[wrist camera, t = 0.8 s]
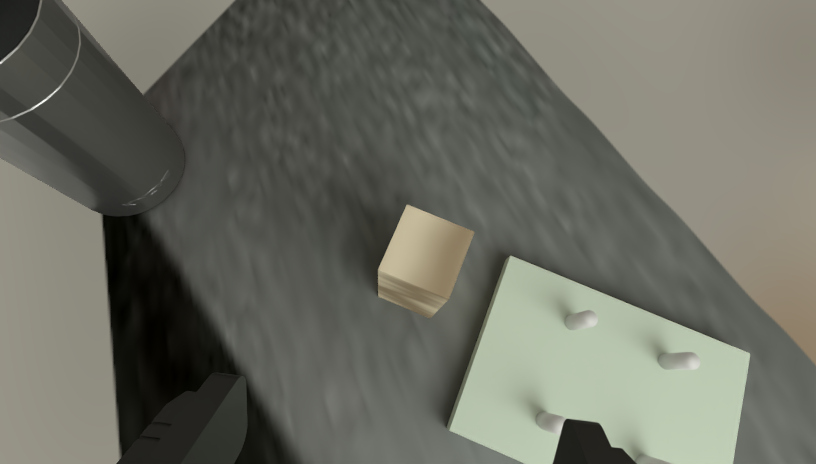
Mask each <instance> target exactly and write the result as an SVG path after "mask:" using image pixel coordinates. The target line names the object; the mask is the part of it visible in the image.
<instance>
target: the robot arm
mask: <svg viewBox="0 0 816 464" xmlns="http://www.w3.org/2000/svg"><path fill="white" fill-rule="evenodd" d="M0 158H1V159H3V160H5V161H6V162H8V163H10V164H12V165H14V166H15V167H17V168H19V169H21V170H22V171H24V172H26V173H28V174H30V175H31V176H33V177H35V178H37V179H38V180H40V181H42V182H44V183H46V184H47V185H49V186H51V187H52V188H54V189H56V190H58V191H59V192H61V193H63V194H65V195H66V196H68V197H70V198H72V199H74V200H75V201H77V202H79V203H81V204H82V205H84V206H86V207H88V208H90V209H91V210H93V211H96V212H98V213H101V214H104V215H110V216H130V215H134V214H139V213H142V212H144V211H146V210H149V209H151V208H153V207H154V206H156V205H158V204H159V203H161V202H162V201H163V200H164V199H165V198H167V197H168V196H169V195H170V194H171V193H172V191H173V190H174V189H175V187H176V186H177V184H178V183H179V180H180V178H181V176H182V174H183V169H184V164H185V155H184V150H183V146H182V143H181V141H180V140H179V138H178V136H177V135H176V134H175V132H174V131H173V130H172V129H171V128H170V127H169V125H168V124H167V123H166V122H165V121H164V120H163V118H162V117H161V116H160V115H159V114H158V112H157V111H156V110H155V109H154V108H153V106H152V105H151V104H150V103H149V102H148V101H147V99H146V98H145V97H144V96H143V95H142V93H141V92H140V91H139V90H138V89H137V88H136V86H135V85H134V84H133V83H132V82H131V81H130V80H129V78H128V77H127V76H126V75H125V74H124V72H123V71H122V70H121V69H120V68H119V67H118V65H117V64H116V63H115V62H114V61H113V60H112V59H111V57H110V56H109V55H108V54H107V53H106V51H105V50H104V49H103V48H102V47H101V46H100V44H99V43H98V42H97V41H96V40H95V39H94V37H93V36H92V35H91V34H90V33H89V31H88V30H87V29H86V28H85V27H84V26H83V24H82V23H81V22H80V21H79V20H78V19H77V18H76V16H75V15H74V14H73V13H72V12H71V11H70V9H69V8H68V7H67V6H66V5H65V4H64V3H63V2H62V0H0ZM246 431H247V398H246V380H245V377H244V376H238V375H230V374H222V373H212V374H211V375H210V376H209V377H208V378H207V380H206V381H205V382H204V384H203V385H202V386H201V387H200V389H199V390H198V391H197V392H191V391H186V392H185V393H183V394H182V395H180V396H178V397H177V398H175V399H174V400H172V401H171V402H169V403H168V404H166V405H165V407H164V408H163V409H162V410H161V411H160V413H159V414H158V415H157V416H156V417H155V419H154V420H153V421H152V424H151V425H149V426H148V427H147V428H146V429H145V430H144V432H143V433H142V434H141V435H140V438H139V439H137V440H136V441H135V442H134V443H133V445H132V446H131V447H130V448H129V449H128V451H127V452H126V453H125V454H124V455H123V457H122V458H121V459H120V460H119V461H118V462H117V464H234V462H235V461H236V459H237V457H238V455H239V453H240V451H241V449H242V446H243V444H244V440H245V437H246ZM553 464H637V463H636V462H635V461H634V460H633V459H632V458H631V457H630V456H629V455H628V454H627V453H626V452H625V451H624V450H623V449H622V448H616V447H611V445H610V443H609V441H608V438H607V436H606V434H605V432H604V430H603V428H602V426H601V425H600V424H599V423H598V422H591V421H583V420H575V419H566V420H565V421H564V423H563V427H562V430H561V434H560V438H559V442H558V446H557V449H556V453H555V457H554V461H553Z"/></svg>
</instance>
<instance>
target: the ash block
mask: <svg viewBox="0 0 816 464" xmlns="http://www.w3.org/2000/svg"><path fill="white" fill-rule="evenodd" d="M473 235H474V232H473V231H471V230H468V229H466V228H464V227H461V226H459V225H456V224H454V223H451V222H449V221H446V220H444V219H442V218H439V217H437V216H434V215H432V214H429V213H427V212H424V211H422V210H420V209H417V208H415V207H412V206H410V205H406V208H405V210H404V212H403V214H402V217H401V219H400V221H399V224H398V226H397V228H396V230H395V233H394V235H393V237H392V239H391V242H390V244H389V246H388V248H387V251H386V253H385V255H384V257H383V260H382V262H381V264H380V266H379V269H378V297H381V298H383V299H385V300H388V301H390V302H392V303H395V304H397V305H400V306H402V307H404V308H407V309H409V310H411V311H414V312H416V313H418V314H421V315H423V316H426V317H428V318H431V317H432V316H433V315H434V314H435V313H436V312H437V311H438V310H439V309H440V308H441V307H442V306H443V305H444V304H445V303H446V302H447V301H448V300H449V297H450V295H451V292H452V289H453V287H454V284H455V282H456V279H457V276H458V274H459V271H460V269H461V266H462V263H463V261H464V258H465V255H466V253H467V250H468V248H469V245H470V242H471V240H472V237H473Z"/></svg>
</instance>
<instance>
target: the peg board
mask: <svg viewBox="0 0 816 464" xmlns="http://www.w3.org/2000/svg"><path fill="white" fill-rule="evenodd" d="M749 359H750V353H747V352H745V351H743V350H740V349H738V348H735V347H733V346H730V345H728V344H725V343H723V342H721V341H718V340H716V339H713V338H711V337H708V336H706V335H703V334H701V333H699V332H696V331H694V330H691V329H689V328H686V327H684V326H681V325H679V324H677V323H674V322H672V321H669V320H667V319H664V318H662V317H660V316H657V315H655V314H652V313H650V312H647V311H645V310H642V309H640V308H638V307H635V306H633V305H630V304H628V303H625V302H623V301H620V300H618V299H616V298H613V297H611V296H608V295H606V294H603V293H601V292H599V291H596V290H594V289H591V288H589V287H586V286H584V285H581V284H579V283H577V282H574V281H572V280H569V279H567V278H564V277H562V276H559V275H557V274H555V273H552V272H550V271H547V270H545V269H542V268H540V267H537V266H535V265H533V264H530V263H528V262H525V261H523V260H520V259H518V258H516V257H513V256H511V255H510V256H509V257H508V258H507V259H506V260H505V263H504V265H503V268H502V271H501V274H500V277H499V280H498V282H497V285H496V288H495V291H494V294H493V297H492V299H491V302H490V305H489V308H488V311H487V314H486V316H485V319H484V322H483V325H482V328H481V331H480V334H479V336H478V339H477V342H476V345H475V348H474V351H473V353H472V356H471V359H470V362H469V365H468V368H467V370H466V373H465V376H464V379H463V382H462V385H461V387H460V390H459V393H458V396H457V399H456V402H455V404H454V407H453V410H452V413H451V416H450V419H449V422H448V424H447V427H446V428H447V429H448V430H449V431H452V432H454V433H456V434H459V435H461V436H463V437H465V438H468V439H470V440H472V441H475V442H477V443H479V444H481V445H484V446H486V447H488V448H491V449H493V450H495V451H498V452H500V453H502V454H504V455H507V456H509V457H511V458H514V459H516V460H518V461H520V462H523V463H525V464H553V461H554V457H555V453H556V449H557V446H558V442H559V438H560V434H561V430H562V427H563V423H564V421H565V420H566V419H575V420H583V421H591V422H598V423H599V424H600V425H601V426H602V428H603V430H604V432H605V434H606V436H607V438H608V441H609V443H610V445H611V447H616V448H622V449H623V450H624V451H625V452H626V453H627V454H628V455H629V456H630V457H631V458H632V459H633V460H634V461H635V462H636V463H637V464H733V459H734V453H735V446H736V440H737V434H738V428H739V421H740V415H741V409H742V403H743V396H744V390H745V384H746V378H747V371H748V365H749Z"/></svg>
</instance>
